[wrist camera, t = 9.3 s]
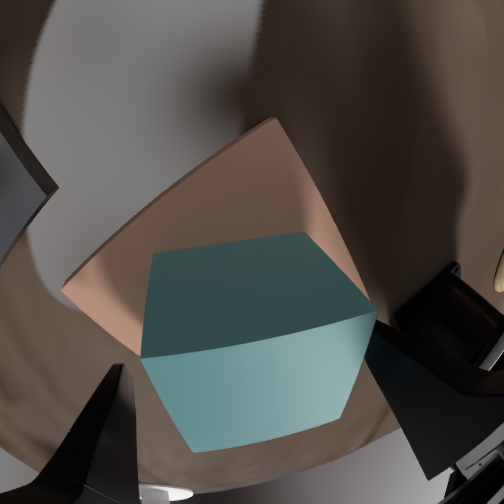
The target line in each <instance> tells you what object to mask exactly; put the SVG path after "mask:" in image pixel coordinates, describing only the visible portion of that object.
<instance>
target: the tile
mask: <svg viewBox="0 0 504 504" xmlns="http://www.w3.org/2000/svg"><path fill="white" fill-rule="evenodd" d="M299 232H306V233H307V234H308V235H309V236H310V238H311V239H312V240H313V241H314V242H315V243H316V244H317V245H318V246H319V247H320V248H321V249H322V250H323V251H324V252H325V253H326V254H327V255H328V256H329V257H330V258H331V259H332V260H333V261H334V262H335V263H336V264H337V266H338V267H339V268H340V269H341V270H342V271H343V272H344V273H345V274H346V275H347V276H348V277H349V278H350V279H351V281H352V282H353V283H354V284H355V285H356V286H357V287H358V288H359V289H360V290H361V291H362V292H363V294H364V295H365V296H366V297H367V298H368V299H369V297H368V294H367V292H366V290H365V287H364V285H363V283H362V280H361V278H360V276H359V273H358V271H357V269H356V267H355V264H354V262H353V260H352V258H351V256H350V253H349V251H348V249H347V247H346V245H345V243H344V241H343V239H342V236H341V234H340V232H339V230H338V228H337V226H336V224H335V222H334V220H333V218H332V216H331V214H330V212H329V210H328V208H327V206H326V204H325V202H324V201H323V199H322V197H321V195H320V193H319V191H318V189H317V187H316V185H315V184H314V182H313V180H312V178H311V176H310V174H309V173H308V171H307V169H306V167H305V165H304V164H303V162H302V160H301V158H300V157H299V155H298V153H297V151H296V150H295V148H294V146H293V145H292V143H291V141H290V140H289V138H288V136H287V135H286V133H285V131H284V130H283V128H282V126H281V125H280V123H279V121H278V120H277V118H268V119H266V120H265V121H263V122H262V123H260V124H258V125H257V126H255V127H254V128H252V129H251V130H249V131H247V132H246V133H244V134H243V135H241V136H240V137H238V138H237V139H235V140H234V141H232V142H231V143H229V144H228V145H226V146H225V147H224V148H222V149H221V150H219V151H218V152H216V153H215V154H214V155H212V156H211V157H209V158H208V159H206V160H205V161H204V162H202V163H201V164H200V165H198V166H197V167H195V168H194V169H193V170H191V171H190V172H189V173H187V174H186V175H185V176H183V177H182V178H181V179H179V180H178V181H177V182H175V183H174V184H173V185H172V186H170V187H169V188H168V189H167V190H165V191H164V192H163V193H161V194H160V195H159V196H158V197H156V198H155V199H154V200H153V201H152V202H150V203H149V204H148V205H147V206H146V207H144V208H143V209H142V210H141V211H140V212H138V213H137V214H136V215H135V216H134V217H133V218H131V219H130V220H129V221H128V222H127V223H126V224H124V225H123V226H122V227H121V228H120V229H119V230H118V231H117V232H115V233H114V234H113V235H112V236H111V237H110V238H109V239H108V240H107V241H106V242H105V243H103V244H102V245H101V246H100V247H99V248H98V249H97V250H96V251H95V252H94V253H93V254H92V255H91V256H90V257H89V258H88V259H87V260H86V261H85V262H84V263H83V264H82V265H81V266H80V267H78V269H77V270H76V271H75V272H74V273H73V274H72V275H71V276H70V277H69V278H68V279H67V280H66V281H65V283H64V285H63V286H62V288H61V292H63V293H64V294H65V295H66V296H67V297H68V298H69V299H70V300H71V301H72V302H73V303H74V304H75V305H77V306H78V307H79V308H80V309H81V310H82V311H83V312H84V313H86V314H87V315H88V316H89V317H90V318H91V319H93V320H94V321H95V322H96V323H97V324H99V325H100V326H101V327H102V328H104V329H105V330H106V331H107V332H108V333H110V334H111V335H112V336H114V337H115V338H116V339H117V340H119V341H120V342H121V343H123V344H124V345H125V346H127V347H128V348H129V349H131V350H132V351H133V352H135V353H136V354H138V355H139V356H140V354H141V342H142V331H143V322H144V313H145V305H146V297H147V290H148V283H149V276H150V270H151V263H152V258H153V254H154V253H160V252H167V251H173V250H180V249H187V248H193V247H200V246H207V245H214V244H221V243H227V242H234V241H241V240H248V239H255V238H263V237H270V236H277V235H284V234H291V233H299ZM369 300H370V299H369Z"/></svg>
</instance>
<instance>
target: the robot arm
mask: <svg viewBox="0 0 504 504" xmlns="http://www.w3.org/2000/svg"><path fill="white" fill-rule="evenodd" d="M394 322H395V325H396V328H397V329H395V328H393V327H391V326H389V325H387V324H385V323H383V322H381V321H379V320H377V319H376V320H375V324H374V327H373V330H372V334H371V337H370V340H369V343H368V346H367V349H366V352H365V355H364V358H365V361H366V363H367V365H368V367H369V369H370V371H371V373H372V375H373V377H374V378H375V380H376V382H377V384H378V386H379V387H380V389H381V391H382V393H383V395H384V396H385V398H386V400H387V402H388V404H389V406H390V407H391V409H392V411H393V413H394V415H395V417H396V419H397V420H398V422H399V424H400V426H401V428H402V430H403V432H404V434H405V436H406V437H407V440H408V442H409V443H410V446H411V448H412V449H413V452H414V454H415V456H416V458H417V460H418V462H419V464H420V466H421V468H422V470H423V472H424V474H425V476H426V478H427V480H428V481H429V480H431V479H432V478H434V477H436V476H437V475H439V474H440V473H442V472H443V471H445V470H446V469H448V468H449V467H450V468H451V469H452V470H454V472H453V473H452V474H450V478H449V482H448V485H447V489H446V492H445V496H444V499H443V500H442V501H440V502H439V503H438V504H504V352H503V353H502V351H503V350H504V315H503V314H501V313H500V312H499V311H498V310H497V309H496V308H495V307H494V306H493V305H491V304H490V303H489V302H488V301H487V300H486V299H484V298H483V297H482V296H481V295H480V294H479V293H477V292H476V291H475V290H474V289H473V288H471V287H470V286H469V285H468V284H466V283H465V282H464V281H463V280H461V266H460V264H459V263H457V262H456V261H455V262H453V263H452V264H451V265H450V266H449V267H448V268H447V269H446V270H445V271H444V272H443V273H442V274H441V275H439V276H438V277H437V278H436V279H435V280H434V281H433V282H432V283H431V284H430V285H429V286H427V287H426V288H425V289H424V290H423V291H422V292H421V293H420V294H418V295H417V296H416V297H415V298H414V299H413V300H411V301H410V302H409V303H408V304H407V305H405V306H404V307H403V308H402V309H400V310H399V311H398V312H397V313H396V314H395V316H394ZM501 353H502V355H501V356H500V357H499V355H500V354H501ZM498 357H499V359H498V360H497V358H498ZM496 360H497V362H496V363H495V364H494V362H495V361H496ZM493 364H494V365H493ZM492 365H493V367H492V368H491V369H490V367H491V366H492ZM489 369H490V371H488V370H489ZM0 504H140V495H139V483H138V468H137V441H136V410H135V401H134V389H133V380H132V377H131V375H130V373H129V371H128V370H127V368H126V366H125V365H124V364H123V363H119V364H113V365H112V366H111V368H110V369H109V371H108V372H107V374H106V375H105V377H104V378H103V380H102V381H101V383H100V384H99V386H98V387H97V389H96V390H95V392H94V393H93V395H92V396H91V398H90V399H89V401H88V402H87V404H86V405H85V407H84V409H83V410H82V412H81V413H80V415H79V416H78V418H77V419H76V421H75V423H74V424H73V426H72V427H71V429H70V432H68V434H67V435H66V437H65V439H64V440H63V442H62V443H61V445H60V446H59V448H58V449H57V451H56V452H55V453H54V455H53V456H52V458H51V459H50V460H49V461H48V463H47V464H46V465H45V467H44V468H43V469H42V471H41V472H40V473H39V475H38V476H37V477H36V478H35V479H34V480H33V481H32V482H31V483H29V484H27V485H25V486H22V487H19V488H16V489H13V490H10V491H7V492H4V493H0Z"/></svg>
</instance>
